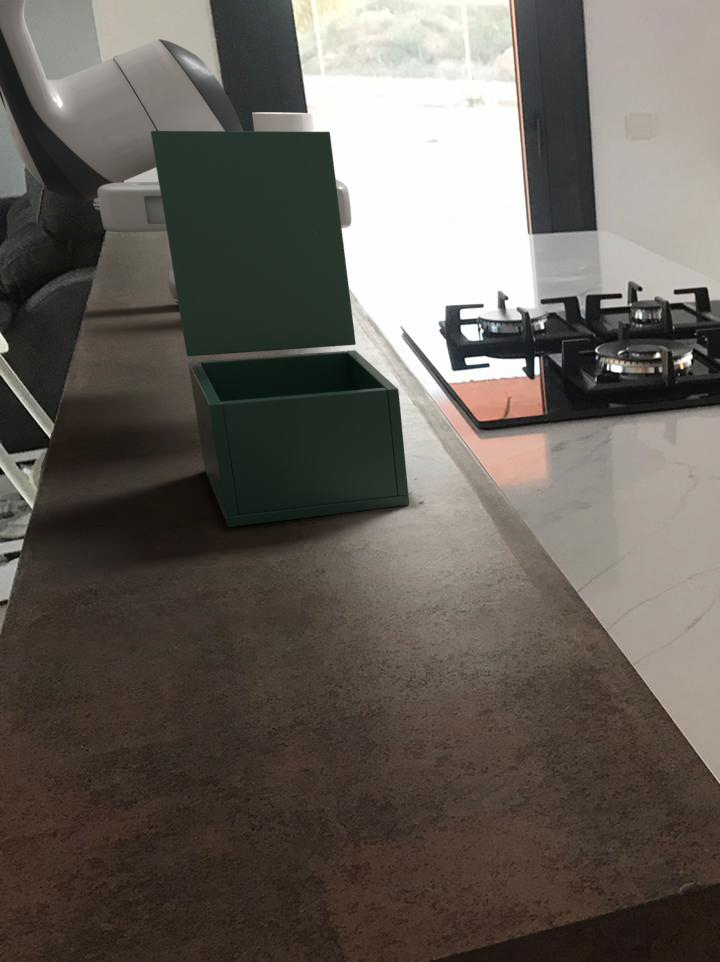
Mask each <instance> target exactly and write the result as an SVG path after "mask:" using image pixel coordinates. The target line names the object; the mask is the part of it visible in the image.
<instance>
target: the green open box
mask: <svg viewBox="0 0 720 962" xmlns="http://www.w3.org/2000/svg"><path fill="white" fill-rule="evenodd" d="M187 365H188V371H189V376H190V382H191V383H190V384H191V389H192V395H193V402H194V409H195V414H196V421H197V427H198V428H197V429H198V433H199V440H200V446H201V452H202V459H203V465H204V471H205V474H206V477H207V479H208V481H209V484H210V486H211V488H212V491H213V494H214V496H215V498H216V501H217V504H218V506H219V509H220V510H221V513H222V516H223V518H224V520H225V523H226V526H227V528H235V527H244V526H250V525H258V524H260V525H261V524H267V523H274V522H275V523H276V522H281V521H282V522H283V521H284V522H285V521H291V520H300V519H307V518H314V517H324V516H331V515H338V514H346V513H348V514H349V513H354V512H356V513H357V512H363V511H371V510H378V509H386V508H395V507H402V506H403V507H404V506H409V505H410V495H409V487H408V486H409V485H408V475H407V473H408V472H407V466H406V453H405V443H404V433H403V421H402V412H401V402H400V401H401V400H400V392H399V391H400V390H399V388H398V387H397V386H395V384H393V383H392V382H391V381H390V380H389V379H388V378H387V377H386V376H385V375H384V374H382V373H381V372H380V371H379V370H378V369H377V368H376V367H374V366H373V365H372V364H371V362H370V361H368V360H367V359H366V358H365V357H364V356H362V355H361V354H360V352H358V351H357V350H355V349H354V350H339V351H326V352H311V353H297V354H296V353H295V354H282V355H269V356H268V355H267V356H256V357H255V356H253V357H240V358H239V357H238V358H225V359H214V360H213V359H212V360H210V359H209V360H196V361H188V363H187Z"/></svg>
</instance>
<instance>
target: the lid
mask: <svg viewBox="0 0 720 962" xmlns="http://www.w3.org/2000/svg"><path fill="white" fill-rule="evenodd" d="M151 138H152V144H153V150H154V156H155V162H156V168H155V169H156V175H157V182H158V181H159V187H160V193H161V199H162V206H163V212H164V218H165V224H166V230H167V236H168V243H169V249H170V255H171V261H172V267H173V273H174V279H175V286H176V292H177V298H178V310H179V316H180V322H181V328H182V333H183V341H184V347H185V353H186V356H187V357H199V356H214V355H226V354H227V355H228V354H243V353H257V352H271V351H286V350H302V349H316V348H329V347H345V346H356V342H357V341H356V335H355V326H354V318H353V312H352V311H353V310H352V302H351V294H350V284H349V277H348V269H347V260H346V252H345V245H344V237H343V228H342V227H341V219H340V211H339V203H338V194H337V186H336V179H337V178H336V172H335V163H334V155H333V147H332V138H331V132H330V131H314V132H291V131H254V130H243V131H151ZM167 236H166V237H167Z"/></svg>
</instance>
